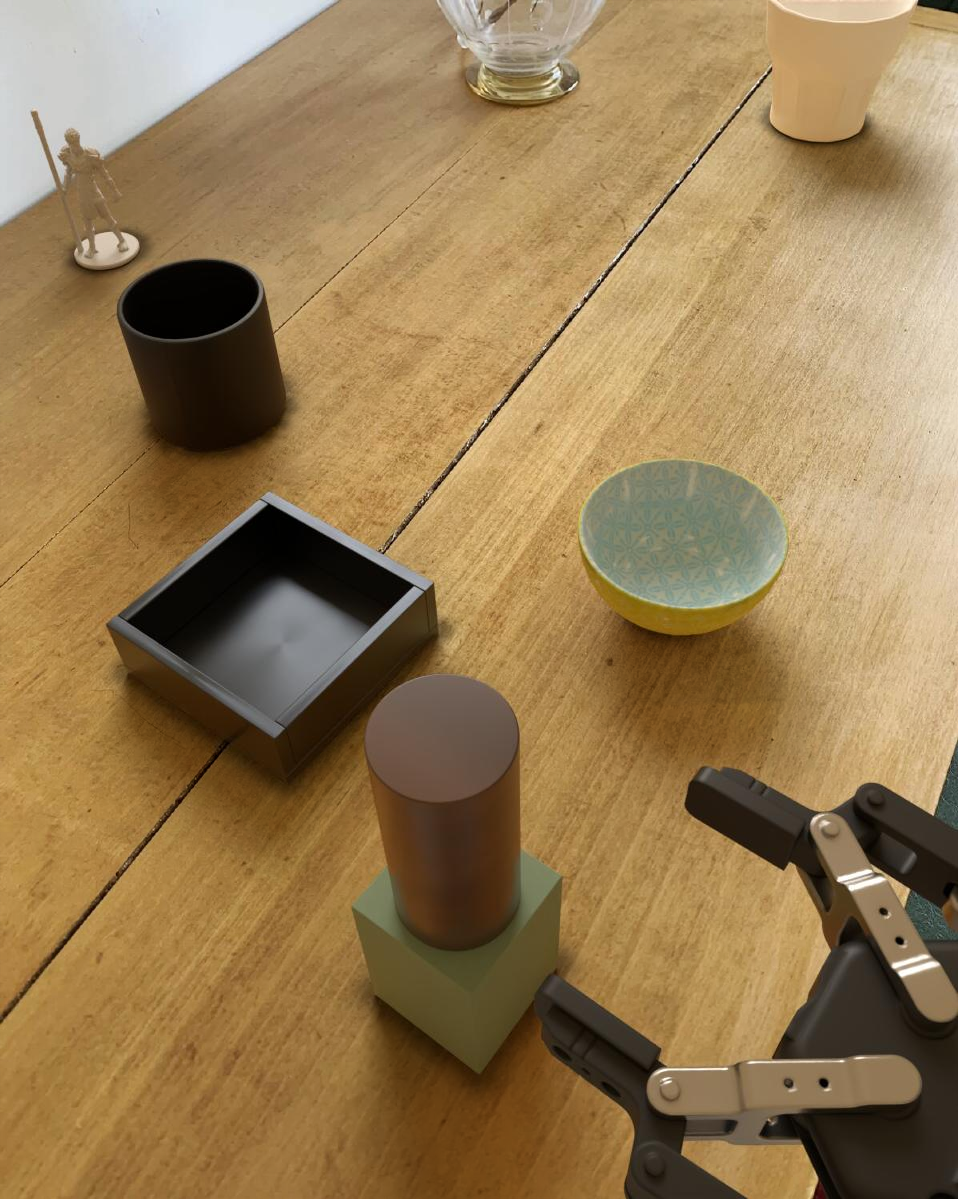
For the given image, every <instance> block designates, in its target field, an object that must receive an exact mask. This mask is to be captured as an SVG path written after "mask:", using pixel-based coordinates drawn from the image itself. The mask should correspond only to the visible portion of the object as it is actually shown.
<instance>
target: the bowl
mask: <svg viewBox="0 0 958 1199" xmlns="http://www.w3.org/2000/svg"><path fill="white" fill-rule="evenodd" d="M577 538H578V539H577V540H578V548H579V552H580V558H581V562H582V563H583V567H584V570H585V572H586V574H587V577H588V579H589V582H590V583H591V585H592V586H593V588H594V590H595V591H596V592H597V594H598V595H599V597H600V598H601V599H602V600H603V601H604V602H605V603H606V604H607V605H608V606H609V607H610V608H611V609H612V610H613V611H614V612H616V614H618V615H619V616H621V617H622V618H624V619H626V620H628V621H629V622H631V623H633V624H634V625H637V626H638V627H641V628H642V629H645V630H648V631H652V632H656V633H660V634H665V635H672V636H690V635H701V634H706V633H710V632H713V631H715V630H719V629H722V628H724V627H727V626H729V625H732V624H734V623H735V622H737V621H739V620H740V619H742V618H743V617H745V616H746V615H747V614H749V613H750V612H751V611H753V610H754V609H755V608H756V606H757V607H758V605H759V604H760V603H761V602H762V601H763V600H764V599H765V598H766V597H767V595H769V593H770V591H771V590H772V588H773V586H774V585H775V583H777V581H778V578H779V577H780V574H782V573H781V572H782V571H783V568H784V565H785V562H786V560H787V556H788V552H789V546H790V545H789V544H790V538H789V529H788V526H787V523H786V520H785V517H784V515H783V513H782V511H781V509H780V508H779V506H778V505H777V503H776V502H775V501H774V499H773V498H772V497H771V496H770V494H768V492H766V491H765V490H764V489H763V488H762V487H760V485H758V484H757V483H755V482H754V481H752V480H751V479H750V478H748V477H746V476H745V475H743V474H741V473H739V472H737V471H735V470H732V469H730V468H727V467H724V466H722V465H719V464H716V463H712V462H707V461H702V460H697V459H690V458H660V459H651V460H645V461H642V462H638V463H635V464H631V465H628V466H625V467H624V468H622V469H619V470H617V471H615V472H614V473H612V474H610V475H609V476H607V477H605V478H604V479H603V480H602V481H601V482H599V483H598V484H597V485H596V486H595V487H594V488H593V489H592V490H591V492H590V493H589V494H588V496H587V497H586V499H585V500H584V503H583V504H582V506H581V508H580V512H579V514H578V521H577Z"/></svg>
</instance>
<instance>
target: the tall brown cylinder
mask: <svg viewBox="0 0 958 1199" xmlns="http://www.w3.org/2000/svg"><path fill="white" fill-rule="evenodd" d="M519 725H520V724H519V722H518V718H517V716H516V713H515V711H514V709H513V707H512V706H511V705H510V703H509V702H508V701H507V700H506V698H505V696H503V695H502V694H501V693H500V692H499V691H498V690H496V689H495V688H494V687H492V686H491V685H490V684H488V683H486V682H484V681H482V680H480V679H477V678H475V677H472V676H468V675H464V674H458V673H445V672H444V673H443V672H442V673H441V672H440V673H431V674H425V675H422V676H417V677H416V678H415V677H414V678H412V679H410V680H407V681H405V682H402V683H401V684H399V685H398V686H396V687H395V688H393V689H391V691H389V692H388V693H387V694H386V695H385V696H383V697H382V698H381V699H380V701H379V702H378V703H377V704H376V705H375V707H374V709H373V710H372V711H371V713H370V715H369V717H368V719H367V722H366V724H365V728H364V734H363V752H364V758H365V762H366V767H367V772H368V776H369V782H370V786H371V791H372V796H373V802H374V806H375V811H376V816H377V817H376V818H377V821H378V825H379V826H378V827H379V831H380V836H381V842H382V846H383V852H384V856H385V860H386V866H387V867H388V872H389V877H390V882H391V886H392V891H393V896H394V901H395V906H396V910H397V913H398V915H399V917H400V919H401V921H402V923H403V924H404V926H405V927H406V929H407V930H408V931H409V932H410V933H411V934H412V935H413V936H414V937H416V938H417V939H418V940H420V941H421V942H423V943H425V944H427V945H429V946H431V947H434V948H437V949H441V950H447V951H466V950H470V949H475V948H478V947H480V946H483V945H485V944H487V943H489V942H491V941H492V940H494V939H495V938H497V937H498V936H499V935H500V934H501V933H502V932H504V930H505V929H506V928H507V927H508V926H509V924H510V923H511V921H512V920H513V918H514V916H515V914H516V912H517V909H518V906H519V902H520V897H521V849H522V847H521V846H522V845H521V732H520V726H519Z"/></svg>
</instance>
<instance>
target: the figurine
mask: <svg viewBox="0 0 958 1199" xmlns="http://www.w3.org/2000/svg"><path fill="white" fill-rule="evenodd" d="M30 115H31V118H32V122H33V124H34V128H35V130H36V133H37V135H38V137H39V140H40V143H41V147H42V148H43V152H44V155H45V157H46V160H47V163H48V166H49V169H50V172H51V175H52V178H53V181H54V184H55V186H56V190H57V192H58V193H57V198H58V199H59V200H60V202H61V204H62V207H63V210H64V214H65V216H66V218H67V222H68V224H69V228H70V230H71V234H72V238H73V240H74V243H75V246H76V247H75V249H74V253H73V255H74V259H75V262H76V263H77V264H78V265H79V266H81V267H83V268H85V269H88V270H93V271H94V270H98V271H103V270H109V269H115V268H118V267H121V266H123V265H125V264H127V263H130V261H132V260H133V259H135V258H136V256H137V255H139V252H140V248H141V247H140V242H139V240H138V239H137V238H136V237H135V235H134V236H133V235H132V234H130V233H127V232H123V231H121V230H120V228H119V225H118V223H117V221H116V220H115V219H114V217H113V216H112V214H111V213H112V212H111V211H110V210H109V208H108V205H109V202H108V201H107V199H106V198H105V196H104V195H103V193H102V192H101V190H100V189H99V187H98V185H97V183H96V180H95V175H94V174H93V170H94V171H96V172H97V173H98V174H99V175H100V177H101V178H103V180H104V183H105V184H106V185H107V187H108V188H109V189H110V191H111V193H112V199H113V200H114V201H115V202H116V203H119V202H121V201H122V199H123V196H122V194H121V192H119V190H118V189H117V186H116V183H115V182H114V180H113V179H114V178H112V177H110V174H109V171H108V170H106V168H105V166H104V163H105V158H103V157H102V156H101V153H100V151H99V150H98V149H96V148H95V147H93V146H85V147H84V146H82V145H81V135H80V133H79V131H78V130H77V129H75V127H69V128H67V129H66V131H65V132H63V137H64V141H65V142H66V143H67V144H65V145H63V146H62V147H61V149H60V151H59V153H57V154H56V156H57V159H58V160H59V161H60V162H62V165H63V166H64V167H66V168H65V173H64V175H63V184H62V182H61V179H60V176H59V173H58V171H57V167H56V164H55V162H54V159H53V156H52V153H51V150H50V146H49V144H48V141H47V138H46V135H45V130H44V127H43V124H42V122H41V119H40V116H39V112H38V110H37V109H36V108H32V109H30ZM73 175H74V176H73ZM73 177H74V179H75V182H76V188H77V199H76V200H77V203H78V205H79V209H80V213H81V220H82V221H83V225H84V226H83V231H84V233H85V235H86V238H85V239H84V240H82V239H81V235H80V234H79V231H78V228H77V226H76V224H75V220H74V217H73V213H72V211H71V208H70V205H69V203H68V200H67V195H68V191H69V189H70V185H71V182H72V179H73ZM99 217H100V218H101V219H102V220H104V222H105V223H106V227H107V229H109V230H110V231H105V232H100V233H97V234H96V232H95V227H94V224H93V222H92V221H93V220H96V219H98V218H99Z"/></svg>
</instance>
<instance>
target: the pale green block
mask: <svg viewBox="0 0 958 1199" xmlns="http://www.w3.org/2000/svg"><path fill="white" fill-rule="evenodd" d="M563 878H564V877H563V875H562V874H560V873H559V872H557V871H556V870H554V869H553V868H552V867H550V866H549V865H547V864H546V863H544V862H542V861H541V860H539V859H538V858H536V857H535V856H533V855H532V854H530V853H528V852H527V851H526V850H524V849H522V848H521V897H520V902H519V906H518V909H517V912H516V914H515V916H514V918H513V920H512V921H511V923H510V924H509V926H508V927H507V928H506V929H505V930H504V932H502V933H501V934H500V935H499V936H498V937H497V938H495V939H494V940H492V941H491V942H489V943H487V944H485V945H483V946H480V947H478V948H475V949H470V950H466V951H447V950H441V949H437V948H434V947H431V946H429V945H427V944H425V943H423V942H421V941H420V940H418V939H417V938H416V937H414V936H413V935H412V934H411V933H410V932H409V931H408V930H407V929H406V927H405V926H404V924H403V923H402V921H401V919H400V917H399V915H398V913H397V910H396V906H395V901H394V896H393V891H392V886H391V882H390V877H389V872H388V867H387V865H386V866H385V867H384V868H383V869H382V870H381V871H380V872H379V873H378V875H377V876H376V877H375V878H374V879H373V881H372V882H371V883H370V884H369V885H368V886H367V888H365V890H364V891H363V892H362V893H361V894H360V896H358V898H357V899H356V900H355V901H354V902H353V904H351V906H350V908H351V912H352V915H353V916H352V917H353V918H354V923H355V926H356V930H357V933H358V938H359V941H360V946H361V949H362V953H363V955H364V960H365V962H366V963H365V964H366V967H367V971H368V974H369V979H370V982H371V986H372V989H373V993H374V995H375V996H376V997H377V998H379V999H380V1000H382V1002H384V1003H385V1004H387V1005H388V1006H389V1007H391V1008H392V1009H393V1010H394V1011H396V1012H397V1013H399V1014H400V1015H401V1016H402V1017H404V1018H405V1019H406V1020H408V1021H409V1022H410V1023H411V1024H413V1025H414V1026H415V1027H416V1028H418V1029H419V1030H420V1031H422V1032H423V1033H425V1034H426V1035H427V1036H428V1037H429V1038H431V1039H432V1040H433V1041H435V1042H436V1043H437V1044H438V1045H440V1046H441V1047H442V1048H444V1049H445V1050H446V1051H447V1052H449V1053H450V1054H452V1055H453V1056H454V1057H456V1058H457V1059H458V1060H459V1061H461V1062H462V1063H463V1064H465V1066H467V1067H469V1069H471V1070H472V1071H474V1072H475V1073H476V1074H477V1075H481V1074H482V1073H483V1071H484V1070H485V1068H486V1067H487V1066H488V1064H489V1063H490V1062H491V1060H492V1059H493V1057H494V1056H495V1054H496V1053H497V1051H498V1050H499V1049H500V1047H501V1046H502V1045H503V1043H504V1042H505V1041H506V1039H507V1038H508V1036H509V1035H510V1034H511V1032H512V1031H513V1029H514V1028H515V1026H516V1025H517V1024H518V1022H520V1020H521V1019H522V1017H523V1016H524V1014H525V1013H526V1012H527V1010H528V1008H529V1007H530V1006H531V1004H532V1003H533V1002H534V994H535V993H536V991H537V990H538V988H539V987H540V986H541V984H542V983H543V982H544V980H545V979H546V977H547V976H548V975H549V974H554V973H555V971H556V970H557V968H558V966H559V949H560V930H561V914H562V913H561V912H562V895H563V894H562V893H563Z"/></svg>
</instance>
